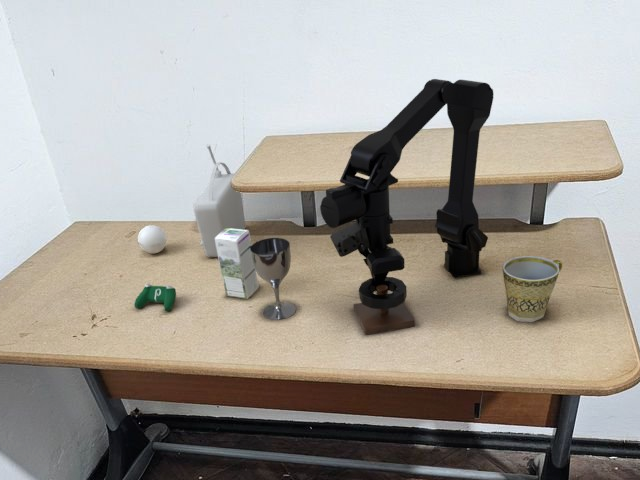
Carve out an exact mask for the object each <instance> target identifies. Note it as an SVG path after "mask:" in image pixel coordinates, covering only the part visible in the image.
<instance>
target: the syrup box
mask: <svg viewBox="0 0 640 480" xmlns="http://www.w3.org/2000/svg"><path fill="white" fill-rule="evenodd" d="M215 244H216V248H217V253H218V257H217V258H218V262H219V267H220V272H221V277H222V283H223V287H224V291H225V296H226V297H231V298H235V299H236V298H237V299H244V300H248V299H249V298H251V297H252V296H253V295H254V293H255V292H256V291H257V290H259V287H260V286H259V281H258V276H257V275H258V274H257V272H256V269H255V267H254V264H253V261H252V257H251V251H250V248H251V246H252V245H253V244H252V240H251V234H250V230H249V229H245V230H242V229H231V228H227V229H225V230H223V231H222V232H221V233H219V234H218V235H217V236H216V237H215Z"/></svg>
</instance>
